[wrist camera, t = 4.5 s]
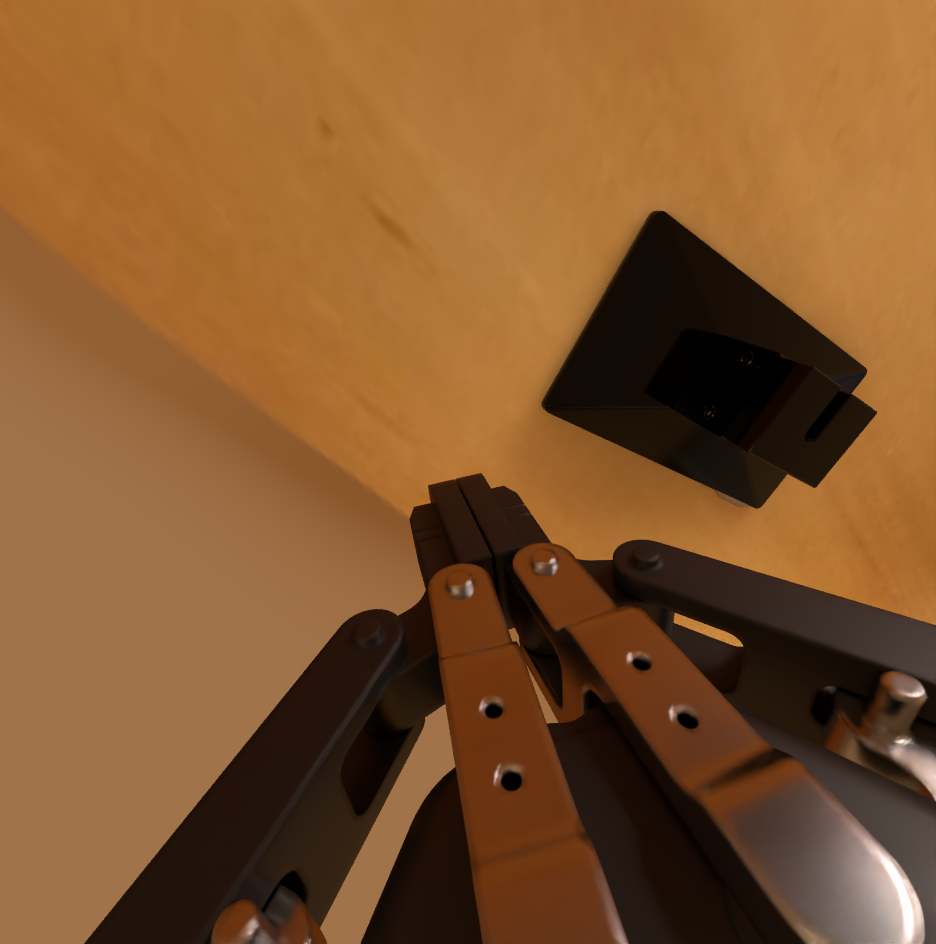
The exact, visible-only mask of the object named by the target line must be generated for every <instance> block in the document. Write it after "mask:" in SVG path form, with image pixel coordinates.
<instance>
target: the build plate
mask: <svg viewBox="0 0 936 944" xmlns="http://www.w3.org/2000/svg"><path fill="white" fill-rule="evenodd" d="M866 373H867V369H866V368H865V367H864V366H863V365H861V364H860V363H859V362H857V361H856V360H855V359H854V358H852V357H851V356H850V355H848V354H847V353H846V352H845V351H843V350H842V349H841V348H839V347H838V346H837V345H836V344H834V343H833V342H832V341H830V340H829V339H828V338H827V337H825V336H824V335H823V334H821V333H820V332H819V331H818V330H816V329H815V328H814V327H812V326H811V325H810V324H809V323H807V322H806V321H805V320H803V319H802V318H801V317H800V316H798V315H797V314H796V313H794V312H793V311H792V310H791V309H789V308H788V307H787V306H785V305H784V304H783V303H782V302H780V301H779V300H778V299H776V298H775V297H774V296H772V295H771V294H770V293H769V292H767V291H766V290H765V289H763V288H762V287H761V286H760V285H758V284H757V283H756V282H754V281H753V280H752V279H751V278H749V277H748V276H747V275H745V274H744V273H743V272H742V271H740V270H739V269H738V268H736V267H735V266H734V265H733V264H731V263H730V262H729V261H727V260H726V259H725V258H724V257H722V256H721V255H720V254H718V253H717V252H716V251H715V250H713V249H712V248H711V247H709V246H708V245H707V244H706V243H704V242H703V241H702V240H700V239H699V238H698V237H697V236H695V235H694V234H693V233H691V232H690V231H689V230H688V229H686V228H685V227H684V226H682V225H681V224H680V223H679V222H677V221H676V220H675V219H673V218H672V217H671V216H670V215H668V214H667V213H666V212H664V211H653V212H652V213H650V215H649V216H648V218H647V219H646V221H645V223H644V225H643V226H642V228H641V230H640V232H639V233H638V235H637V237H636V239H635V240H634V242H633V244H632V246H631V247H630V249H629V251H628V252H627V254H626V256H625V258H624V259H623V261H622V263H621V265H620V266H619V268H618V270H617V272H616V273H615V275H614V277H613V279H612V280H611V282H610V284H609V286H608V287H607V289H606V291H605V293H604V294H603V296H602V298H601V300H600V301H599V303H598V305H597V306H596V308H595V310H594V312H593V313H592V315H591V317H590V319H589V320H588V322H587V324H586V326H585V327H584V329H583V331H582V333H581V334H580V336H579V338H578V340H577V341H576V343H575V345H574V347H573V348H572V350H571V352H570V353H569V355H568V357H567V359H566V360H565V362H564V364H563V366H562V367H561V369H560V371H559V373H558V374H557V376H556V378H555V380H554V381H553V383H552V385H551V387H550V388H549V390H548V392H547V394H546V395H545V397H544V399H543V401H542V407H543V409H544V410H546V411H547V412H548V413H550V414H552V415H554V416H557V417H559V418H561V419H563V420H565V421H567V422H570V423H572V424H574V425H576V426H578V427H580V428H583V429H585V430H587V431H589V432H591V433H593V434H596V435H598V436H600V437H602V438H604V439H606V440H609V441H611V442H613V443H615V444H617V445H619V446H622V447H624V448H626V449H628V450H630V451H632V452H635V453H637V454H639V455H641V456H643V457H645V458H648V459H650V460H652V461H654V462H656V463H658V464H661V465H663V466H665V467H667V468H669V469H671V470H674V471H676V472H678V473H680V474H682V475H684V476H687V477H689V478H691V479H693V480H695V481H697V482H700V483H702V484H704V485H706V486H708V487H710V488H713V489H715V490H717V493H718V496H719V497H720V498H722V499H724V500H726V501H728V502H731V503H733V504H735V505H737V506H739V507H745V506H752V507H754V508H756V509H757V508H760V507H761V506H762V505H763V504H764V503H765V502H766V500H767V499H768V498H769V497H770V495H771V494H772V493H773V492H774V490H775V489H776V488H777V487H778V485H779V484H780V483H781V482H782V480H783V479H784V478H785V477H786V475H787V474H789V475H791V476H793V477H794V478H796V479H798V480H800V481H802V482H804V483H806V484H807V485H809V486H811V487H813V488H816V487H817V486H818V484H819V483H820V482H821V481H822V480H823V478H824V477H825V476H826V475H827V473H828V472H829V471H830V470H831V469H832V467H833V466H834V465H835V464H836V462H837V461H838V460H839V459H840V458H841V456H842V455H843V454H844V453H845V452H846V450H847V449H848V448H849V447H850V445H851V444H852V443H853V442H854V441H855V439H856V438H857V437H858V436H859V435H860V433H861V432H862V431H863V430H864V428H865V427H866V426H867V425H868V424H869V422H870V421H871V420H872V419H873V418H874V416H875V415H876V414H877V411H875V410H874V409H872V408H871V407H870V406H868V405H867V404H865V403H864V402H863V401H861V400H860V399H859V398H857V397H856V396H854V395H853V394H851V393H852V392H853V391H854V389H855V388H856V387H857V386H858V384H859V383H860V382H861V381H862V379H863V378H864V377H865V375H866Z"/></svg>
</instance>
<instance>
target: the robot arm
mask: <svg viewBox="0 0 936 944" xmlns="http://www.w3.org/2000/svg"><path fill="white" fill-rule="evenodd" d="M428 489H429V495H430V501H431V503H429V504H425V505H421V506H416V507H414V509H413V511H412V514H411V517H410V524H411V529H412V534H413V539H414V544H415V548H416V553H417V558H418V563H419V566H420V570H421V573H422V577H423V581H424V585H425V588H426V591H425V593H424V595H423V597H422V599H421V600H420V601H419V602H418V603H417V604H416V605H415V606H413V607H412V608H411V609H409V610H407V611H406V612H404V613H402V614H400V615H399V616H397V615H396V614H394V613H393V612H390V611H388V610H383V609H374V610H368V611H364V612H361V613H358V614H356V615H354V616H353V617H351V618H349V619H348V620H347V621H346V622H345V623H343V625H341V627H340V628H339V629H338V630H337V632H336V633H335V634H334V635H333V636H332V638H331V639H330V640H329V641H328V643H327V644H326V645H325V646H324V648H323V649H322V650H321V651H320V652H319V654H318V655H317V656H316V657H315V659H314V660H313V661H312V662H311V664H310V665H309V666H308V667H307V669H306V670H305V671H304V672H303V674H302V675H301V676H300V677H299V679H298V680H297V681H296V682H295V683H294V685H293V686H292V687H291V688H290V690H289V691H288V692H287V693H286V695H285V696H284V697H283V698H282V699H281V701H280V702H279V703H278V704H277V706H276V707H275V708H274V710H273V711H272V712H271V713H270V714H269V716H268V717H267V718H266V719H265V721H264V722H263V723H262V724H261V725H260V727H259V728H258V729H257V730H256V732H255V733H254V734H253V735H252V737H251V738H250V739H249V740H248V742H247V743H246V744H245V745H244V746H243V748H242V749H241V750H240V752H239V753H238V754H237V755H236V756H235V758H234V759H233V760H232V761H231V763H230V764H229V765H228V766H227V768H226V769H225V770H224V771H223V772H222V774H221V775H220V776H219V778H218V779H217V780H216V781H215V783H214V784H213V785H212V786H211V788H210V789H209V790H208V791H207V792H206V794H205V795H204V796H203V797H202V799H201V800H200V801H199V802H198V803H197V805H196V806H195V807H194V808H193V810H192V811H191V812H190V813H189V815H188V816H187V817H186V818H185V819H184V821H183V822H182V823H181V824H180V826H179V827H178V828H177V829H176V831H175V832H174V833H173V834H172V836H171V837H170V838H169V839H168V841H167V842H166V843H165V844H164V845H163V847H162V848H161V849H160V850H159V852H158V853H157V854H156V855H155V857H154V858H153V859H152V860H151V862H150V863H149V864H148V865H147V867H146V868H145V869H144V870H143V871H142V873H141V874H140V875H139V877H138V878H137V879H136V880H135V881H134V883H133V884H132V885H131V886H130V888H129V889H128V890H127V891H126V892H125V894H124V895H123V896H122V898H121V899H120V900H119V901H118V902H117V904H116V905H115V906H114V907H113V909H112V910H111V911H110V912H109V914H108V915H107V916H106V917H105V918H104V920H103V921H102V922H101V923H100V925H99V926H98V927H97V928H96V930H95V931H94V932H93V933H92V935H91V936H90V937H89V938H88V940H87V941H86V942H85V943H84V944H327V942H326V939H325V937H324V935H323V933H322V931H321V930H320V927H321V925H322V923H323V921H324V919H325V917H326V915H327V913H328V911H329V909H330V907H331V906H332V904H333V902H334V900H335V898H336V896H337V894H338V892H339V890H340V888H341V886H342V884H343V882H344V880H345V878H346V876H347V874H348V873H349V871H350V869H351V867H352V865H353V863H354V861H355V859H356V857H357V855H358V853H359V851H360V849H361V847H362V845H363V844H364V842H365V840H366V838H367V836H368V834H369V832H370V830H371V828H372V826H373V824H374V822H375V821H376V819H377V817H378V815H379V813H380V811H381V809H382V807H383V805H384V803H385V801H386V799H387V797H388V795H389V793H390V791H391V789H392V788H393V786H394V784H395V782H396V780H397V778H398V776H399V774H400V772H401V770H402V768H403V766H404V764H405V763H406V761H407V759H408V757H409V755H410V753H411V751H412V749H413V747H414V745H415V743H416V741H417V739H418V737H419V735H420V734H421V731H422V729H423V727H424V723H425V717H426V716H428V715H429V714H431V713H432V712H434V711H435V710H437V709H438V708H440V707H441V706H442V705H444V704H445V705H446V711H447V717H448V723H449V729H450V736H451V741H452V748H453V755H454V761H455V768H453V769H452V770H451V771H450V772H449V773H447V774H446V775H445V776H444V777H443V778H442V779H441V780H440V781H439V782H438V783H437V784H436V785H435V787H434V788H433V789H432V790H431V791H430V793H429V794H428V796H427V797H426V798H425V800H424V801H423V803H422V805H421V806H420V808H419V810H418V812H417V813H416V815H415V817H414V819H413V821H412V824H411V826H410V828H409V831H408V833H407V835H406V838H405V840H404V842H403V845H402V847H401V849H400V852H399V854H398V857H397V859H396V861H395V864H394V866H393V868H392V871H391V873H390V875H389V878H388V880H387V882H386V885H385V887H384V889H383V892H382V894H381V897H380V899H379V901H378V904H377V906H376V908H375V911H374V913H373V915H372V918H371V920H370V923H369V925H368V927H367V929H366V932H365V934H364V937H363V939H362V941H361V944H936V625H933V624H930V623H926V622H923V621H920V620H916V619H913V618H910V617H906V616H903V615H900V614H896V613H893V612H890V611H886V610H883V609H880V608H876V607H873V606H870V605H866V604H863V603H859V602H856V601H853V600H849V599H846V598H843V597H839V596H836V595H833V594H829V593H826V592H823V591H819V590H816V589H813V588H809V587H806V586H803V585H799V584H796V583H793V582H789V581H786V580H783V579H779V578H776V577H773V576H769V575H766V574H763V573H759V572H756V571H752V570H749V569H746V568H742V567H739V566H736V565H732V564H729V563H726V562H722V561H719V560H716V559H712V558H709V557H706V556H702V555H699V554H696V553H692V552H689V551H686V550H682V549H679V548H676V547H672V546H669V545H666V544H662V543H659V542H655V541H650V540H633V541H628V542H625V543H623V544H621V545H620V546H618V547H617V548H616V550H615V551H614V554H613V560H593V561H590V560H579V559H576V558H575V557H574V555H573V554H572V553H571V552H570V551H569V550H567V549H566V548H564V547H562V546H560V545H557V544H552V543H551V542H550V540H549V539H548V537H547V536H546V535H545V533H544V532H543V530H542V529H541V527H540V526H539V524H538V523H537V522H536V520H535V519H534V517H533V516H532V515H531V514H530V511H529V510H528V509H527V507H526V506H525V505H524V503H523V501H522V500H521V498H520V497H519V495H518V494H517V493H516V492H514V491H512V490H510V489H508V488H507V487H505V486H501V487H496V488H492V489H491V488H490V486H489V484H488V483H487V481H486V479H485V478H484V476H483V475H482V473H479V474H475V475H470V476H466V477H462V478H457V479H456V480H454V479H453V480H449V481H445V482H440V483H436V484H432V485H428ZM675 613H677V614H680V615H683V616H685V617H688V618H691V619H693V620H696V621H699V622H701V623H704V624H707V625H709V626H712V627H715V628H718V629H720V630H723V631H726V632H728V633H730V634H732V635H734V636H735V637H737V638H738V639H739V640H740V641H741V643H742V644H743V646H744V647H737V646H733V645H730V644H727V643H725V642H722V641H719V640H717V639H714V638H711V637H709V636H706V635H704V634H701V633H698V632H696V631H693V630H691V629H688V628H685V627H683V626H680V625H678V624H675V623H673V622H674V614H675ZM512 628H515V629H516V631H517V633H518V635H519V642H520V647H519V645H518V643H517V642H516V641H515V642H512V639H511V636H510V633H509V631H508V629H512ZM526 664H527V666H528V668H529V670H530V672H531V673H532V675H533V677H534V679H535V680H536V682H537V684H538V686H539V688H540V690H541V691H542V693H543V695H544V697H545V699H546V700H547V702H548V704H549V706H550V707H551V709H552V711H553V713H554V715H555V717H556V718H557V720H558V723H549V724H547V723H546V720H545V718H544V715H543V712H542V709H541V706H540V703H539V701H538V697H537V695H536V692H535V689H534V686H533V683H532V680H531V677H530V675H529V672H528V669H527V666H526Z"/></svg>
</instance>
